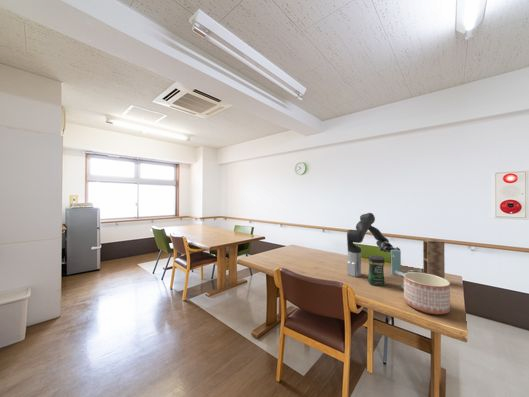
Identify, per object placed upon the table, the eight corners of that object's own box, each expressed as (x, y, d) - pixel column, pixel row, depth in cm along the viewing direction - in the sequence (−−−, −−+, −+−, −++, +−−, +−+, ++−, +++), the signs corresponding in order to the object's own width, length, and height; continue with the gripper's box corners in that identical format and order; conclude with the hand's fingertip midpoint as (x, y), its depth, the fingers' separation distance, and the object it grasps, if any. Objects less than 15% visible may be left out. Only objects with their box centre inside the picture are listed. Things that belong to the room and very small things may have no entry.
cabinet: (409, 281, 143) (409, 240, 143) (401, 272, 161) (401, 235, 160) (447, 285, 136) (447, 242, 136) (434, 275, 154) (434, 237, 154)
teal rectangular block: (392, 275, 155) (392, 250, 155) (391, 273, 158) (391, 249, 158) (401, 276, 153) (401, 251, 153) (399, 274, 157) (399, 250, 157)
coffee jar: (370, 285, 137) (370, 257, 137) (366, 281, 145) (366, 254, 145) (386, 286, 136) (386, 257, 135) (381, 281, 143) (381, 254, 143)
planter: (446, 321, 97) (446, 289, 97) (399, 306, 111) (398, 278, 111) (452, 307, 110) (452, 279, 110) (409, 294, 124) (409, 269, 124)
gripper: (377, 241, 185) (381, 246, 169) (396, 242, 180) (402, 247, 165) (377, 250, 185) (381, 255, 169) (396, 251, 180) (402, 256, 165)
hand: (391, 251), depth 167 cm, fingers open, 8 cm apart
